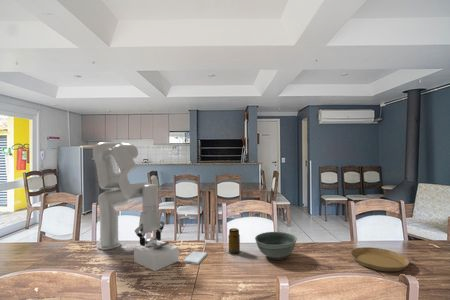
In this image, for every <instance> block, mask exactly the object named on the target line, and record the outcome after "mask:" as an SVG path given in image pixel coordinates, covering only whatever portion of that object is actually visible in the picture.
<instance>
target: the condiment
mask: <svg viewBox="0 0 450 300" xmlns="http://www.w3.org/2000/svg"><path fill="white" fill-rule="evenodd" d="M240 236H241V235H240V230H239V228H235V227H232V228H229V229H228V238H227V239H228V250H225V253H227V254H230V255H233V256H235V257H236V256H240V255H243V254H246V252H245V251H243V250H241V249H240V246H241V245H240V244H241V242H240V241H241V239H240V238H241V237H240Z"/></svg>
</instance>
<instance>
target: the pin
mask: <svg viewBox="0 0 450 300" xmlns="http://www.w3.org/2000/svg"><path fill="white" fill-rule="evenodd" d="M144 238H145V237H144ZM156 245H157V238H156V236H149V237H146V238H145V246H144V247H149V248H150V247H154V246H156Z"/></svg>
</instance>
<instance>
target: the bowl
mask: <svg viewBox="0 0 450 300" xmlns="http://www.w3.org/2000/svg"><path fill="white" fill-rule="evenodd" d="M254 240H255V243H256V245H257V248H258V249H259V251H260V252H261V253H262V254H263V255H264V256H266V257H267V259H269V260H272V261H273V260H274V261H281V260H284V259H286V257H288V256H289V255H290V254H292V252H294V248H295V247H296V243H297V237H296V235H293V234H291V233H287V232H282V231H267V232H262V233H259V234H257V235H256V236H255V237H254Z"/></svg>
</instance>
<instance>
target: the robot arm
mask: <svg viewBox="0 0 450 300" xmlns="http://www.w3.org/2000/svg"><path fill="white" fill-rule="evenodd" d="M138 156H139V150H138V148H137V146H135V145H134V144H131V143H126V142H113V141H110V142H109V141H103V142H102V141H101V142H98V143H96V144H94V146H93V149H92V157H93V160H94V163H95V166H96V170H97V171H96V173H97V182H98V186H99V187H100V189H102V190H107V189H108V190H107V191H104V192H102V193H100V194H99V195H98V197H97V203H98V208H99V222H100V223H99V226H100V227H99V232H100V233H99V237H100V238H99V242H100V243H99V244H97V246H96V247H97V249H98V250H101V251H103V250H104V251H108V250H114V249H117V248H119V247H120V246H122V242H121V241H120V240H119V213H118V212H117V210H116V209H115V207H116V208H117V207H120V206H124V205H127V204H128V203H129V201H130V200H134V199H140V198H142V207H141V208H142V211H141V212H140V216H139V223H138V227H137V228H135V229H134V233H135V234H136V236H137V237H138V238H139V246H140V245H142V246H145V236H146V235H147V234H148V233H152V232H155V237H156V238H157V240H158V241H162V233H163V230H164V227H165V225H166V223H165V222H163V221H161V215H160V211H159V208H160V204H159V191H158V190H159V189H158V185H157V184H155V183H148V182H136V183H131V182H130V180H129V178H128V175H130V174H131V173H133V172H134V171H135V170H136V169H137V164H136V162H135V159H137V157H138ZM110 157H112V158H113V159H114V161H115V163H116V165H117V167H118V169H119V170H120V171H114V168H113V165H114V164H113V163H112V162H111V160H110V159H109V158H110ZM110 189H114V190H110Z"/></svg>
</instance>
